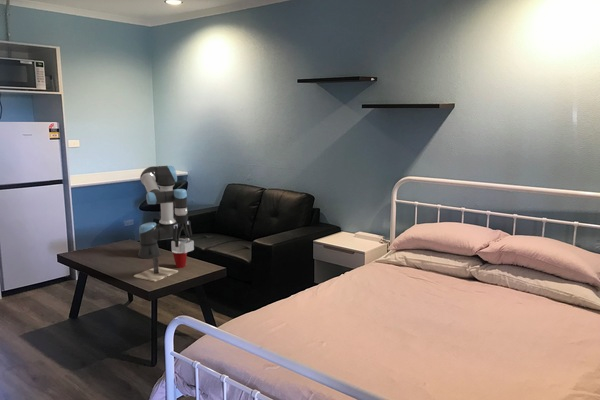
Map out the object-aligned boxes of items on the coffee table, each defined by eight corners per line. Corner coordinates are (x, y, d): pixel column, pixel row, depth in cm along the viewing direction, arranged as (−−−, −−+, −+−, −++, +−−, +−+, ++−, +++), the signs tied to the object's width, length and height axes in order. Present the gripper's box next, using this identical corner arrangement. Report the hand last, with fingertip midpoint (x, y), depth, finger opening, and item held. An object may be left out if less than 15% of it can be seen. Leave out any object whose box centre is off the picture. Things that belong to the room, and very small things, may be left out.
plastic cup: (172, 270, 307) (171, 252, 305) (172, 265, 317) (171, 247, 315) (189, 268, 310) (188, 250, 308) (188, 263, 320) (187, 246, 318)
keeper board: (157, 267, 312) (156, 251, 310) (178, 272, 303) (177, 254, 301) (133, 276, 294) (132, 259, 292) (155, 281, 286) (153, 263, 284)
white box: (180, 247, 302) (180, 238, 300) (193, 249, 296) (193, 240, 295) (171, 250, 295) (171, 241, 294) (185, 253, 290) (184, 243, 288)
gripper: (173, 218, 280) (175, 255, 285) (197, 211, 298) (198, 246, 303) (164, 216, 284) (166, 253, 288) (188, 210, 302) (189, 244, 306)
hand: (183, 249), depth 295 cm, fingers closed on white box, 8 cm apart
